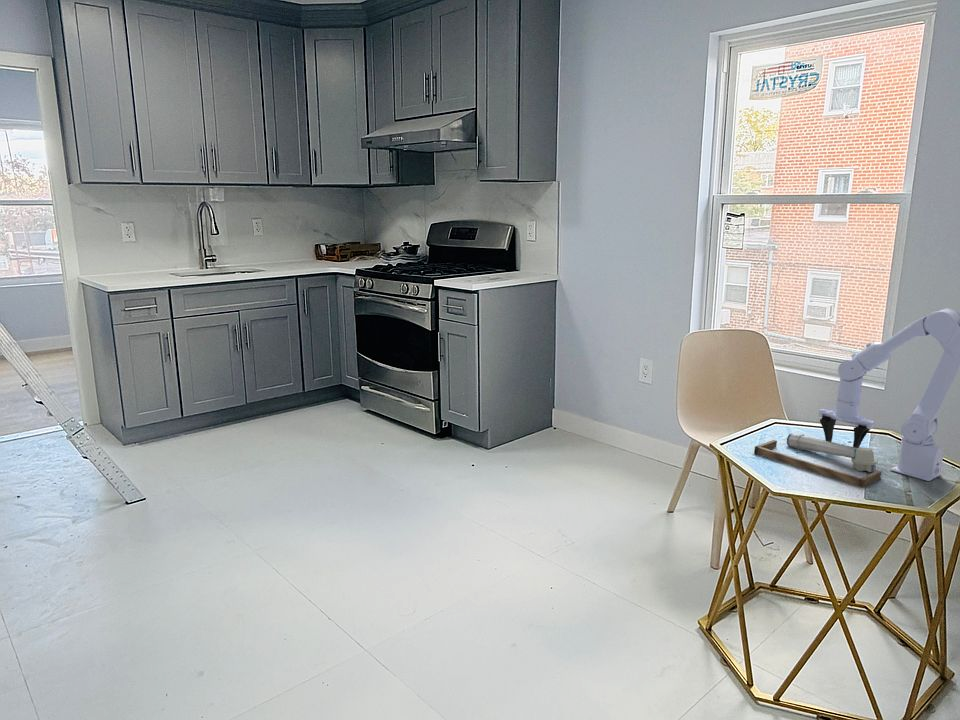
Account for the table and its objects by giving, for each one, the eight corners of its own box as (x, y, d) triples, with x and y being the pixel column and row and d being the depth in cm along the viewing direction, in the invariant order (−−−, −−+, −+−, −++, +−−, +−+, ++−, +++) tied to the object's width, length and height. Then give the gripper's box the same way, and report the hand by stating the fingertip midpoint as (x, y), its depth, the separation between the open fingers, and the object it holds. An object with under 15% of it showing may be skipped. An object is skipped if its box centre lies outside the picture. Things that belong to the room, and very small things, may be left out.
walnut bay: (880, 478, 180) (881, 471, 179) (862, 487, 174) (863, 480, 173) (773, 446, 203) (773, 439, 202) (754, 453, 197) (754, 446, 196)
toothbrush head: (795, 431, 205) (881, 445, 184) (796, 453, 205) (881, 469, 184) (785, 434, 202) (870, 448, 181) (785, 456, 203) (870, 473, 182)
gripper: (815, 396, 197) (809, 441, 200) (868, 409, 185) (861, 456, 189) (827, 393, 201) (822, 437, 204) (880, 404, 190) (873, 451, 193)
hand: (841, 446), depth 197 cm, fingers open, 7 cm apart
